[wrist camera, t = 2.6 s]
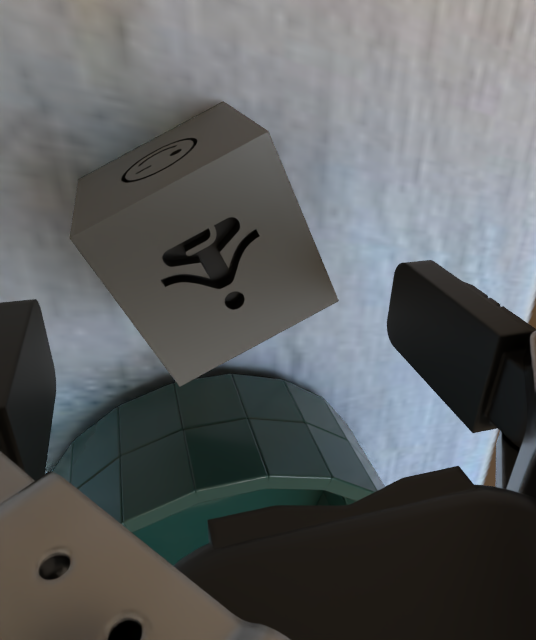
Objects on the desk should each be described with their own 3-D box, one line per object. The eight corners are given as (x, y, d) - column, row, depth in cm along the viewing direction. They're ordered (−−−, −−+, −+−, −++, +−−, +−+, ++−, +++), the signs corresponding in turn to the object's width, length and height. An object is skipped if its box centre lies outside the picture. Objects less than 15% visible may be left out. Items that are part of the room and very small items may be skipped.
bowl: (4, 396, 18) (-32, 537, 13) (364, 343, 22) (442, 439, 17) (74, 619, 25) (67, 764, 20) (336, 552, 29) (385, 663, 24)
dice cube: (223, 101, 15) (268, 131, 11) (284, 236, 18) (338, 300, 14) (78, 179, 15) (69, 238, 11) (162, 303, 18) (179, 386, 14)
